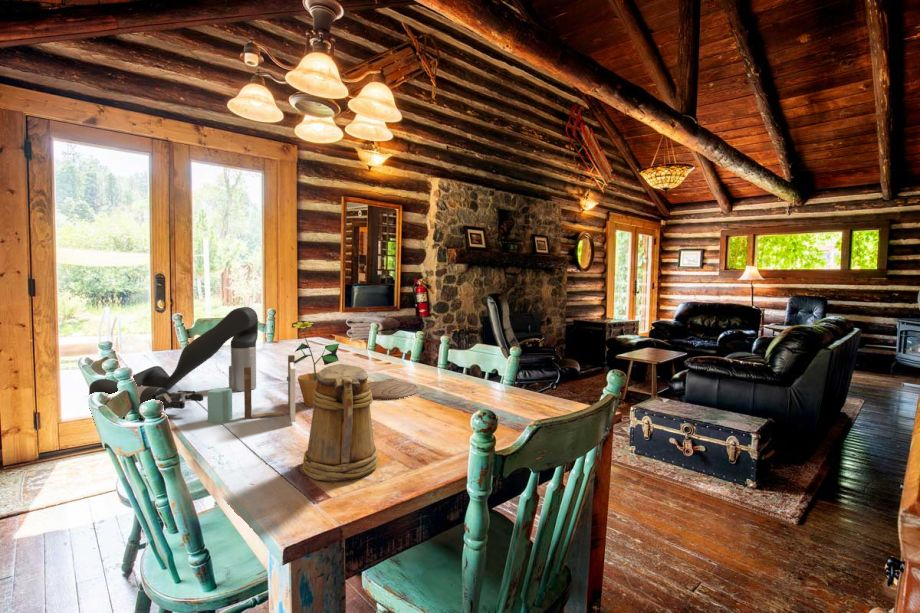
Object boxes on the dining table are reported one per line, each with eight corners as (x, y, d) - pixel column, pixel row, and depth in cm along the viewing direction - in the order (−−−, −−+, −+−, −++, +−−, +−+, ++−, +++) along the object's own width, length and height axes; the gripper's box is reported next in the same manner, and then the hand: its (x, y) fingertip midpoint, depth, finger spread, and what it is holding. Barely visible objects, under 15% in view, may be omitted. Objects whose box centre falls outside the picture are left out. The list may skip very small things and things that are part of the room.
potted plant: (277, 406, 163) (276, 322, 161) (316, 394, 179) (316, 318, 177) (313, 414, 155) (313, 326, 152) (351, 401, 171) (351, 322, 169)
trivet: (344, 396, 178) (344, 392, 178) (374, 382, 202) (374, 378, 202) (402, 403, 171) (403, 398, 171) (426, 388, 195) (427, 383, 194)
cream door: (286, 412, 152) (285, 362, 151) (293, 412, 153) (293, 362, 152) (287, 422, 143) (287, 369, 141) (295, 421, 144) (295, 368, 142)
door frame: (244, 419, 147) (243, 358, 146) (245, 416, 150) (244, 357, 149) (294, 414, 153) (294, 356, 152) (294, 412, 156) (294, 354, 155)
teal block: (207, 422, 144) (207, 391, 143) (218, 417, 149) (217, 387, 148) (222, 423, 143) (222, 392, 142) (232, 418, 148) (231, 388, 147)
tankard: (367, 447, 126) (368, 359, 124) (392, 484, 105) (393, 378, 103) (298, 457, 118) (298, 363, 117) (310, 499, 97) (310, 384, 96)
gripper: (164, 403, 155) (208, 406, 153) (129, 416, 141) (177, 419, 139) (164, 381, 155) (208, 384, 153) (129, 392, 141) (176, 395, 139)
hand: (193, 401), depth 146 cm, fingers open, 8 cm apart
